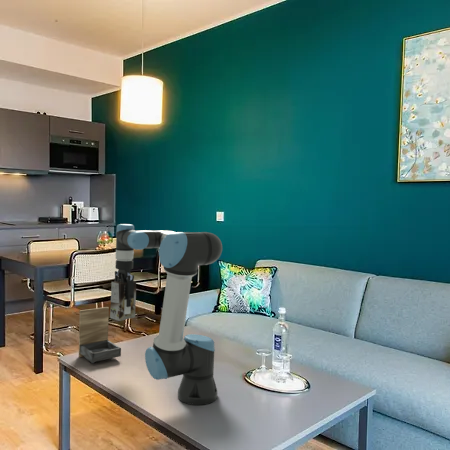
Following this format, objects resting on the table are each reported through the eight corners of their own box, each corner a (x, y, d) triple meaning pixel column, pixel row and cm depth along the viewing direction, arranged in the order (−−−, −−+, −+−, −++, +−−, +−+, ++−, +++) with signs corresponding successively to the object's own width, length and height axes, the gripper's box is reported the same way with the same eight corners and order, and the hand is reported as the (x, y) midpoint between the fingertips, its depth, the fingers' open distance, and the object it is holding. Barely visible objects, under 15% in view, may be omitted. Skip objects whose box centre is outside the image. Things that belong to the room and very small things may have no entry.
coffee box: (119, 321, 186) (120, 283, 185) (109, 318, 190) (110, 281, 189) (135, 317, 194) (137, 281, 193) (126, 314, 197) (127, 278, 197)
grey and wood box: (121, 360, 203) (122, 313, 201) (91, 367, 194) (92, 317, 193) (106, 351, 214) (107, 306, 213) (78, 357, 205) (79, 310, 204)
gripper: (143, 262, 185) (141, 315, 186) (121, 256, 201) (120, 306, 202) (127, 263, 180) (125, 318, 182) (106, 257, 196) (105, 308, 197)
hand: (123, 311), depth 192 cm, fingers closed on coffee box, 7 cm apart
